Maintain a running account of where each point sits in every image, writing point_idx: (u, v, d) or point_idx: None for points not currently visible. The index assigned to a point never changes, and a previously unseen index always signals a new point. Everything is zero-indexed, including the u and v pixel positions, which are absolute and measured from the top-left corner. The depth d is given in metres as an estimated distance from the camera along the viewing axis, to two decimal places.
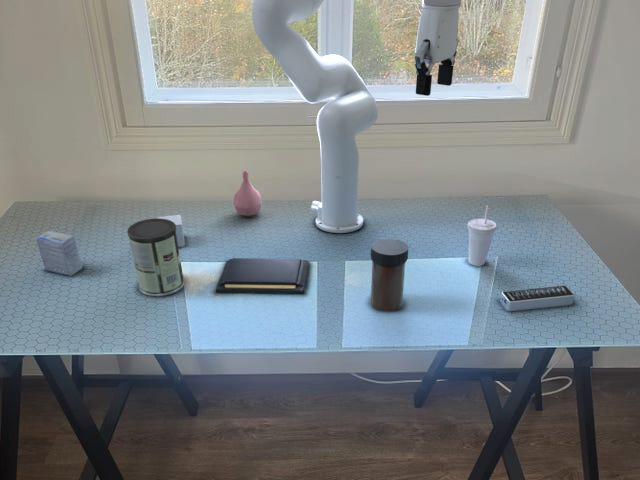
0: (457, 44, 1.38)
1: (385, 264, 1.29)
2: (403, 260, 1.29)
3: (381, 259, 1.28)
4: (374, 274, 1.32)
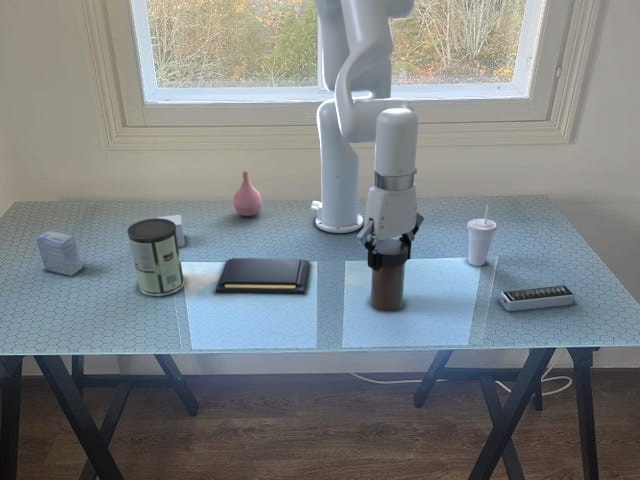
0: (421, 221, 1.31)
1: (385, 264, 1.29)
2: (403, 261, 1.29)
3: (381, 259, 1.28)
4: (374, 274, 1.32)
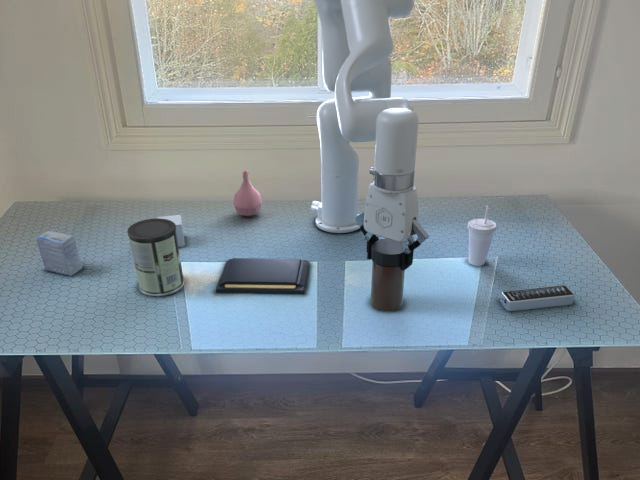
0: None
1: None
2: None
3: None
4: (374, 274, 1.32)
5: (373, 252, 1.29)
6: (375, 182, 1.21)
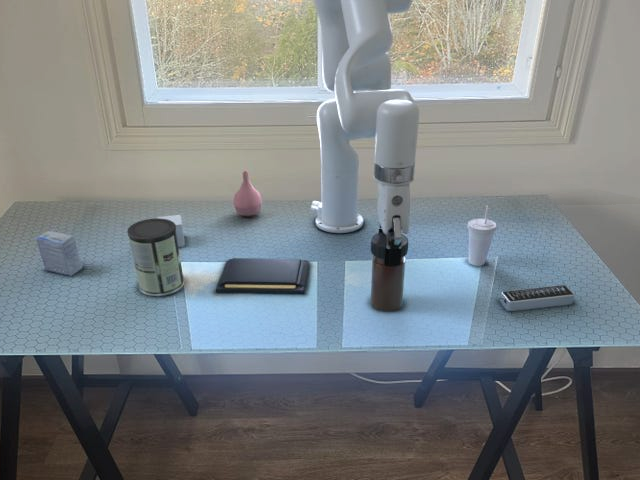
0: (394, 239, 1.21)
1: None
2: (371, 250, 1.30)
3: None
4: (374, 274, 1.32)
5: (406, 245, 1.29)
6: (412, 176, 1.20)
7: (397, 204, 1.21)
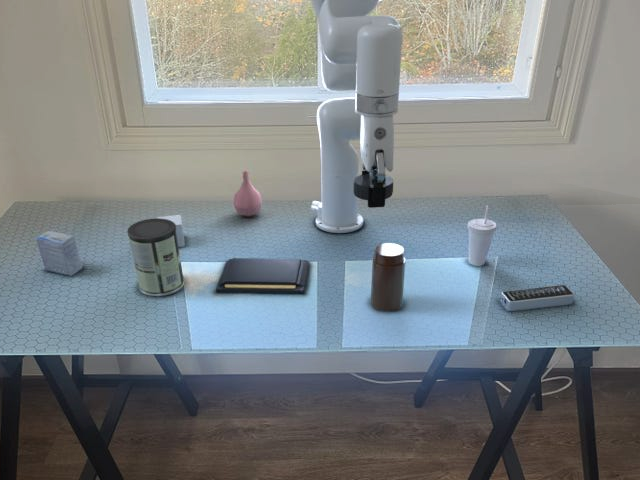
0: (377, 175, 1.14)
1: None
2: (354, 191, 1.23)
3: None
4: (374, 274, 1.32)
5: (391, 186, 1.21)
6: (396, 107, 1.12)
7: (380, 137, 1.13)
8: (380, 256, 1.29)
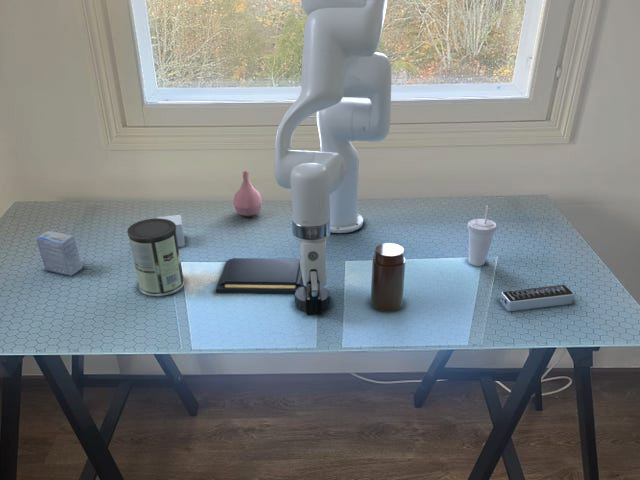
0: (311, 292, 1.28)
1: None
2: (295, 303, 1.37)
3: None
4: (374, 274, 1.32)
5: (327, 299, 1.36)
6: (327, 232, 1.27)
7: (314, 259, 1.28)
8: (380, 256, 1.29)
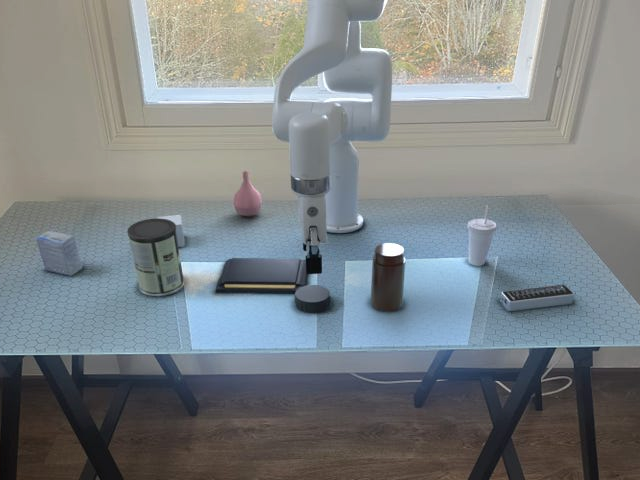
0: (311, 247, 1.22)
1: None
2: (295, 303, 1.37)
3: None
4: (374, 274, 1.32)
5: (327, 299, 1.36)
6: (327, 187, 1.21)
7: (313, 215, 1.23)
8: (380, 256, 1.29)
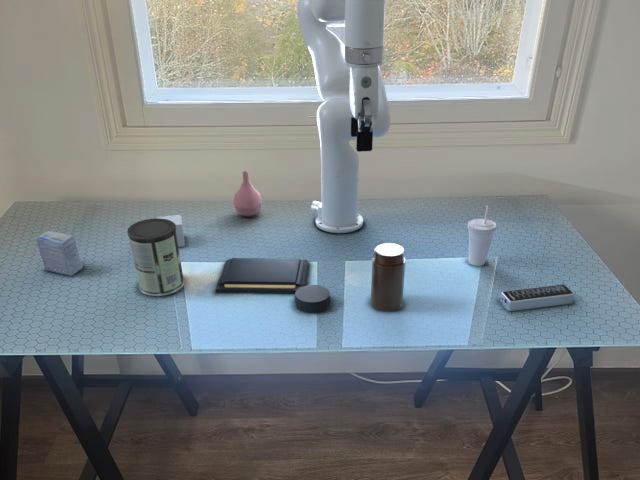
0: (364, 117, 1.25)
1: None
2: (295, 303, 1.37)
3: None
4: (374, 274, 1.32)
5: (327, 299, 1.36)
6: (380, 58, 1.25)
7: (366, 86, 1.26)
8: (380, 256, 1.29)
